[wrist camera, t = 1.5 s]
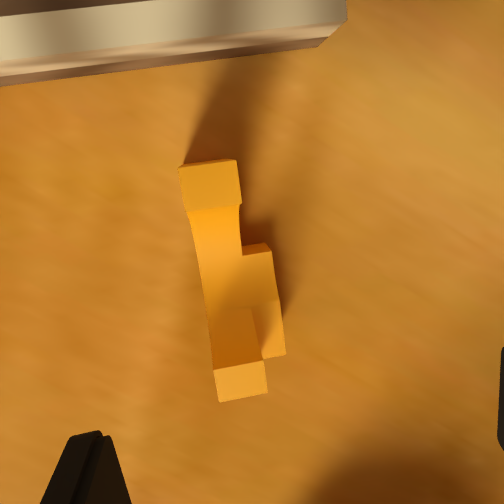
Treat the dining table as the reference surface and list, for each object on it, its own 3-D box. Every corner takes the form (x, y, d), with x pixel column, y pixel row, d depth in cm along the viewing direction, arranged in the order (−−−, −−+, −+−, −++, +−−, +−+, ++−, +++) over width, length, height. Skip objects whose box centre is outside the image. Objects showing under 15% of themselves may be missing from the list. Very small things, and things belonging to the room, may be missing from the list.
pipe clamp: (275, 330, 26) (300, 386, 20) (213, 342, 25) (219, 402, 19) (253, 154, 23) (275, 154, 16) (182, 164, 22) (177, 168, 16)
